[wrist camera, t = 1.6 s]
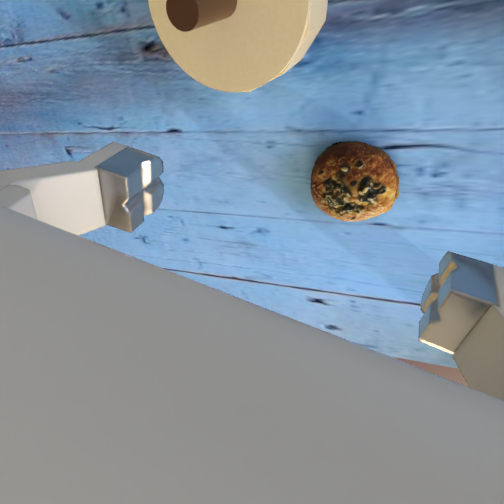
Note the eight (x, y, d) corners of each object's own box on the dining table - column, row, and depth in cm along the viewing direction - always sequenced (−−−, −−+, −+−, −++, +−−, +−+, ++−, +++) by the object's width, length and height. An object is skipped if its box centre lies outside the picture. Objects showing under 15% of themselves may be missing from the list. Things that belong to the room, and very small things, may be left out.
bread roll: (345, 119, 46) (340, 140, 42) (420, 170, 47) (421, 194, 44) (295, 182, 54) (287, 204, 50) (361, 224, 55) (357, 248, 52)
